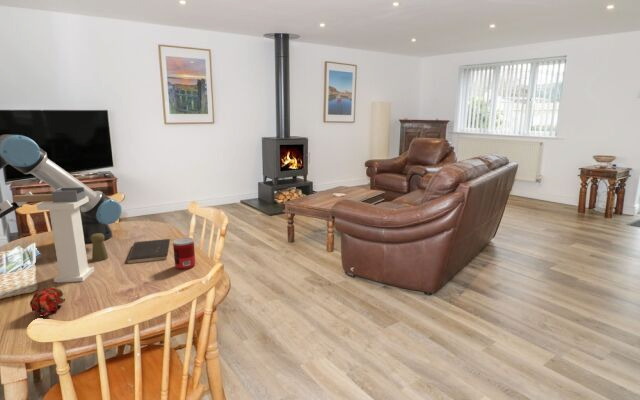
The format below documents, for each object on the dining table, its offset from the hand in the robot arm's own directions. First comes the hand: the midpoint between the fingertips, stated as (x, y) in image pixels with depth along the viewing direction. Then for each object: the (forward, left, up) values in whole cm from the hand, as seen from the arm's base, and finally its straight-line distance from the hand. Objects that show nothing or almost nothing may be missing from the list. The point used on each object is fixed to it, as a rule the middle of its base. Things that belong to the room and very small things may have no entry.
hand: (21, 198), depth 141 cm
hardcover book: (-3, +42, -32) cm, 53 cm away
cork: (-9, +23, -31) cm, 40 cm away
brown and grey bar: (+4, +8, -1) cm, 9 cm away
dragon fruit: (+33, +2, -31) cm, 46 cm away
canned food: (+22, +49, -31) cm, 62 cm away
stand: (+6, +12, -31) cm, 34 cm away
